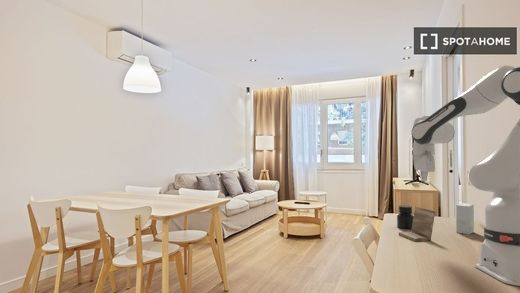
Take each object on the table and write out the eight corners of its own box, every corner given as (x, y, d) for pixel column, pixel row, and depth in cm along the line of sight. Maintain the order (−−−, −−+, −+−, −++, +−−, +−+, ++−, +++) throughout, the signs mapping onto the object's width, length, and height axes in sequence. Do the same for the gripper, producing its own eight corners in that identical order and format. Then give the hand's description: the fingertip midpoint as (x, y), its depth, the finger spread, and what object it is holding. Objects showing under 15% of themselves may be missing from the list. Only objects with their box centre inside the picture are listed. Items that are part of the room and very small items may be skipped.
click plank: (428, 239, 146) (432, 210, 147) (410, 233, 158) (415, 206, 159) (430, 240, 146) (435, 211, 147) (413, 234, 158) (417, 207, 159)
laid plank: (415, 241, 145) (414, 238, 145) (398, 235, 156) (398, 231, 156) (427, 240, 146) (427, 237, 146) (410, 234, 158) (410, 231, 158)
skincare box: (461, 230, 166) (461, 202, 167) (474, 232, 161) (474, 204, 162) (456, 232, 161) (455, 204, 161) (469, 235, 156) (468, 205, 157)
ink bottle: (416, 227, 173) (415, 205, 174) (414, 230, 166) (413, 208, 166) (397, 225, 179) (397, 204, 179) (395, 228, 171) (394, 206, 172)
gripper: (438, 150, 133) (439, 182, 133) (424, 151, 153) (425, 178, 153) (422, 151, 134) (423, 182, 134) (411, 151, 154) (411, 178, 154)
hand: (424, 180), depth 144 cm, fingers closed
